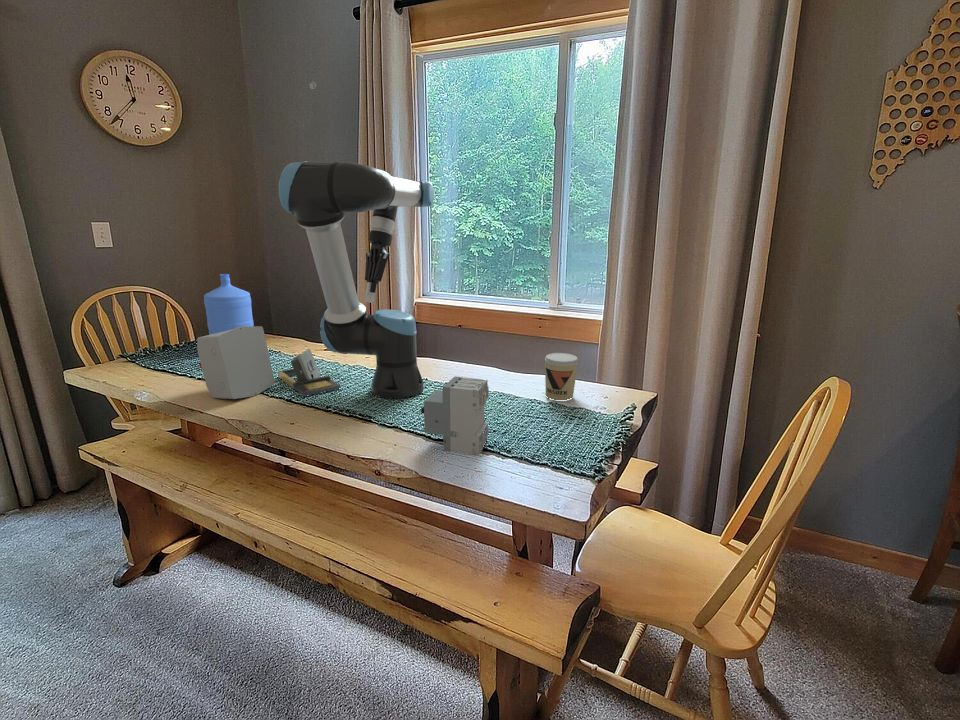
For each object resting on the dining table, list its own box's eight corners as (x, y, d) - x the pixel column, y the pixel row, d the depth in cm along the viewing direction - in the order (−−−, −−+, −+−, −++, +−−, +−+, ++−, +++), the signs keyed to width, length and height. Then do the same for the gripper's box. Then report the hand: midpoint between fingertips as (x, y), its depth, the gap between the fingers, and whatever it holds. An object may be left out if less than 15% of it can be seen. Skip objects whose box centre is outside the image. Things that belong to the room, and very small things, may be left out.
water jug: (246, 354, 184) (236, 277, 176) (203, 354, 184) (191, 276, 176) (263, 343, 199) (255, 272, 191) (223, 343, 199) (213, 271, 191)
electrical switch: (311, 385, 152) (305, 356, 149) (294, 387, 152) (288, 357, 149) (320, 376, 161) (315, 348, 158) (304, 377, 161) (299, 349, 158)
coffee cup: (539, 400, 142) (541, 359, 139) (547, 389, 151) (549, 351, 147) (572, 404, 139) (574, 363, 136) (578, 394, 147) (581, 354, 144)
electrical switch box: (242, 387, 156) (227, 323, 152) (276, 387, 150) (261, 321, 145) (199, 402, 144) (181, 333, 139) (233, 403, 137) (216, 331, 133)
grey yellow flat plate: (340, 389, 149) (340, 382, 149) (304, 397, 143) (303, 390, 142) (312, 371, 166) (312, 365, 165) (278, 377, 159) (277, 371, 158)
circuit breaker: (430, 433, 120) (429, 373, 116) (487, 441, 116) (488, 379, 112) (417, 446, 113) (416, 383, 109) (478, 455, 110) (479, 390, 105)
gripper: (400, 234, 165) (387, 305, 165) (382, 236, 175) (370, 303, 176) (380, 227, 160) (367, 300, 161) (362, 230, 170) (350, 299, 171)
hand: (368, 302), depth 168 cm, fingers closed
